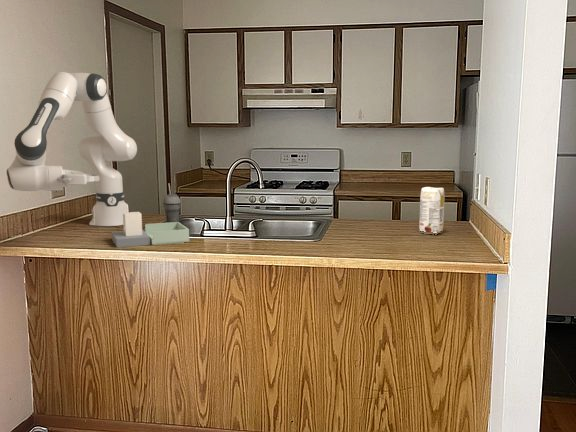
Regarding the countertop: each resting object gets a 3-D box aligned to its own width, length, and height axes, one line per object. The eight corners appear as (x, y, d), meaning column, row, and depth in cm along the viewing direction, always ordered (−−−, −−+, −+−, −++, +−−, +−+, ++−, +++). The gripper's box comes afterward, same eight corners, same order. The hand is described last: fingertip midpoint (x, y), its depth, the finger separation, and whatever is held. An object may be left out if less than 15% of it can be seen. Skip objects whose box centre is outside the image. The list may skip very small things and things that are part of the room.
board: (111, 239, 229) (111, 231, 229) (143, 237, 234) (142, 229, 233) (117, 247, 215) (116, 239, 214) (150, 244, 219) (149, 236, 219)
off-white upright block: (123, 233, 226) (122, 212, 225) (139, 232, 228) (138, 211, 227) (125, 236, 220) (125, 214, 219) (142, 234, 223) (141, 214, 221)
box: (143, 236, 235) (143, 224, 234) (178, 234, 240) (178, 221, 240) (152, 245, 219) (151, 231, 218) (189, 242, 224) (188, 229, 223)
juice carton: (437, 236, 236) (439, 189, 233) (417, 233, 241) (418, 187, 238) (444, 233, 242) (446, 187, 239) (424, 231, 247) (426, 186, 244)
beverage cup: (177, 232, 244) (176, 184, 241) (161, 231, 246) (159, 183, 242) (184, 229, 251) (183, 182, 248) (168, 228, 253) (166, 182, 249)
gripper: (58, 170, 201) (100, 170, 206) (55, 167, 219) (94, 167, 225) (59, 189, 202) (101, 188, 207) (56, 184, 220) (95, 184, 226)
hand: (97, 177), depth 216 cm, fingers open, 8 cm apart
